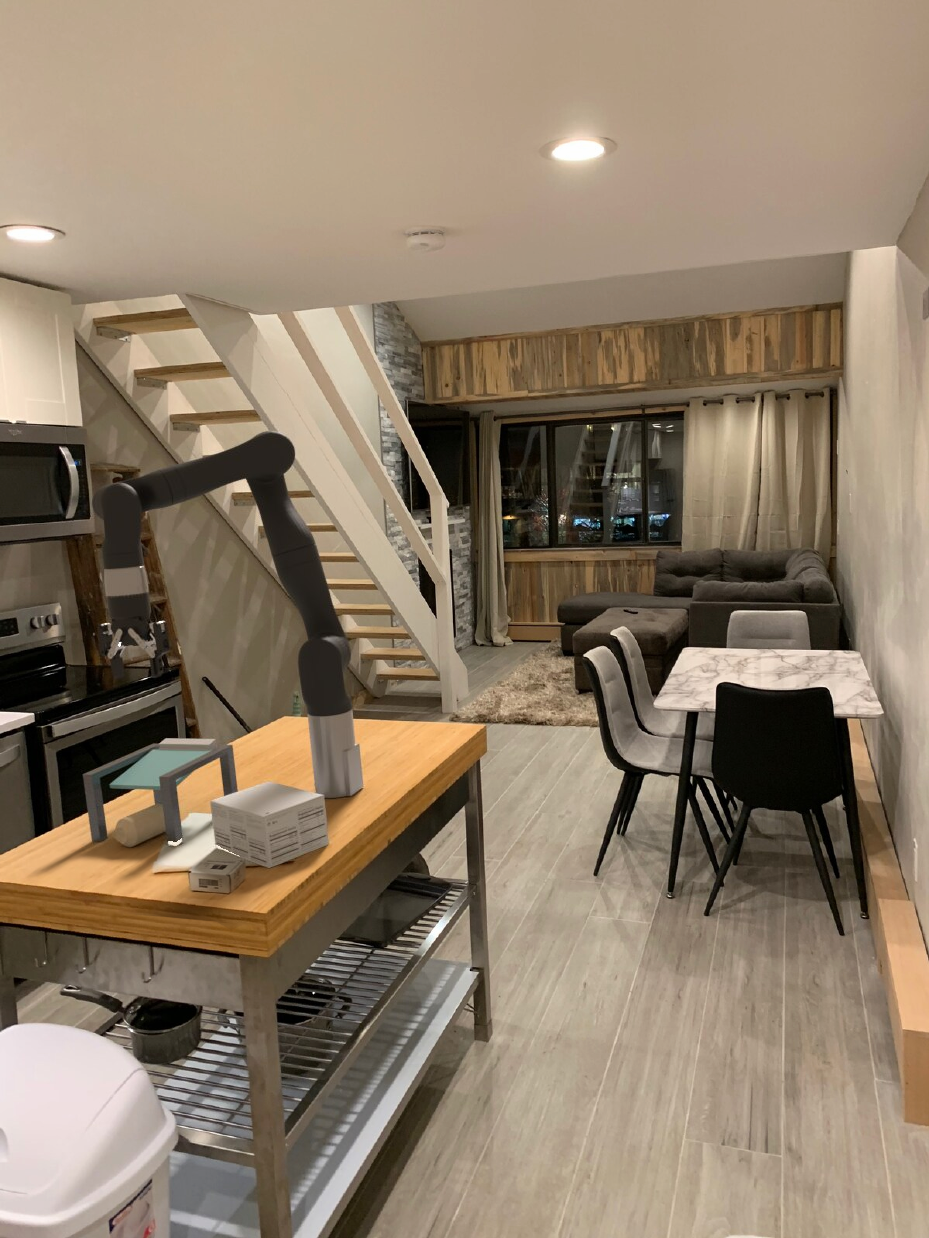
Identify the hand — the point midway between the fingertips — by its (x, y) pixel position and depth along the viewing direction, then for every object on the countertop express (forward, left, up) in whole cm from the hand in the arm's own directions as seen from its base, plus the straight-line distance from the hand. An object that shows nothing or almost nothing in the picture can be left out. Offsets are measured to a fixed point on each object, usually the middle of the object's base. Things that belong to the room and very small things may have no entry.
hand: (138, 677), depth 174 cm
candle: (-2, 0, -27) cm, 27 cm away
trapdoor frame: (0, -4, -30) cm, 30 cm away
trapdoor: (0, -6, -20) cm, 21 cm away
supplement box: (-28, +4, -30) cm, 41 cm away
